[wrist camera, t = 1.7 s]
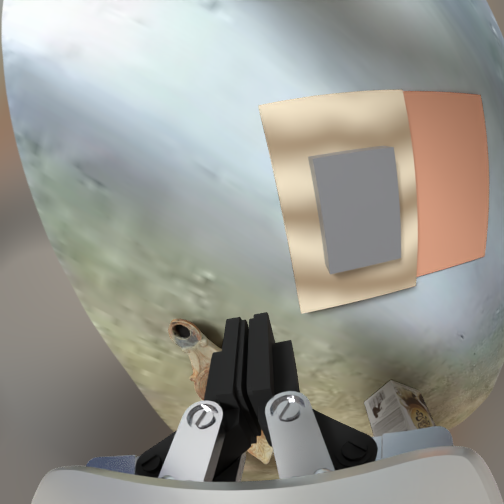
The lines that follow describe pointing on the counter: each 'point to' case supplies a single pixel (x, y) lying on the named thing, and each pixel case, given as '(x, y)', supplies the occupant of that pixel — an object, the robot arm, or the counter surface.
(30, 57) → the counter surface
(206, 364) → the oil lamp
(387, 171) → the tile
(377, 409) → the coffee box
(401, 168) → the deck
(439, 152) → the mat
